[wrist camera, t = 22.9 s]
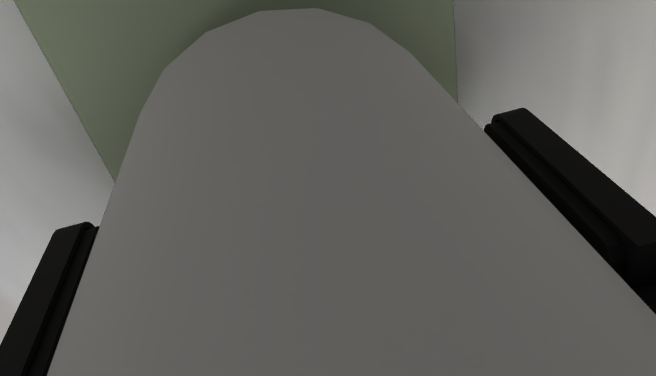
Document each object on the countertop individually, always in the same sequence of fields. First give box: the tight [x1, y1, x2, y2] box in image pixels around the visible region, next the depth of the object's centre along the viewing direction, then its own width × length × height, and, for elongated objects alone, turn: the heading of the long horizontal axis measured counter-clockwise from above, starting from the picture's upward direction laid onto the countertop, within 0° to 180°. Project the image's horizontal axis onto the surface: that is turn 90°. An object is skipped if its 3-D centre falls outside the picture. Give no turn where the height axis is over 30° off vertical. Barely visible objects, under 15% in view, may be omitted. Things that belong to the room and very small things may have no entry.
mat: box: [14, 0, 458, 182], centre depth 14 cm, size 12×10×1 cm
